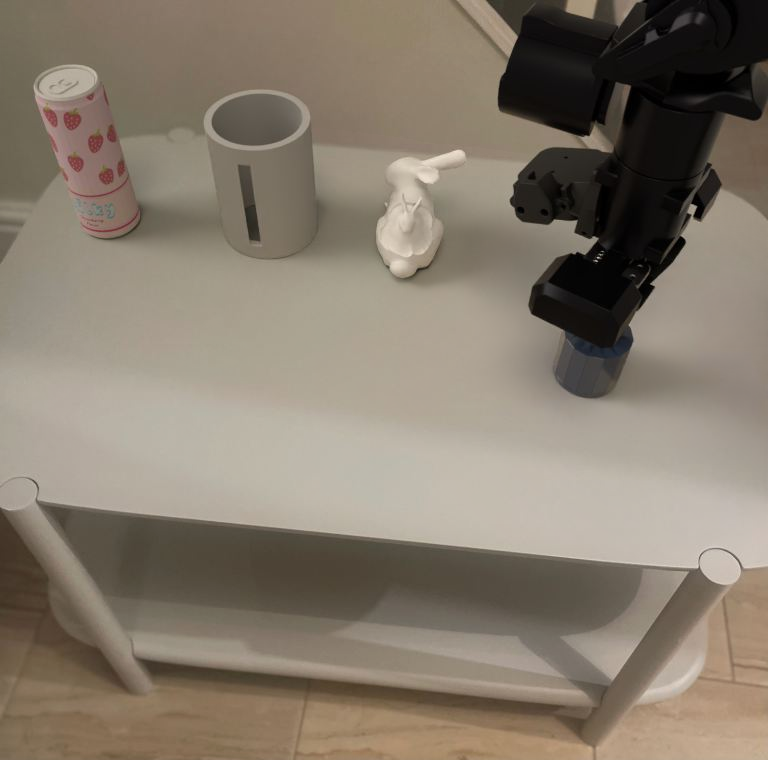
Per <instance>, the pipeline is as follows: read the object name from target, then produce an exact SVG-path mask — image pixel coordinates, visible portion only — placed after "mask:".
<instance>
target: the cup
mask: <svg viewBox="0 0 768 760" xmlns="http://www.w3.org/2000/svg"><path fill="white" fill-rule="evenodd" d="M311 120H312V119H311V112H310V110H309V108H308V106H307V105H306V104H305V103H304V102H303V101H302V100H301V99H299V98H298V97H296V96H294V95H292V94H290V93H287V92H283V91H280V90H274V89H261V88H259V89H248V90H243V91H239V92H234V93H232V94H231V93H230V94H228V95H227V96H224V97H222V98H220V99H219V100H217V101H216V102H214V103H213V104H212V105H211V106H210V107H209V108H208V110H207V111H206V112H205V115H204V117H203V129H204V133H205V140H206V144H207V145H206V146H207V150H208V155H209V160H210V165H211V171H212V176H213V183H214V187H215V191H216V198H217V204H218V208H219V214H220V219H221V224H222V229H223V230H222V231H223V234H224V238H225V240H226V242H227V244H228V245H229V246H230V247H231V248H232V249H233V250H235V251H236V252H238V253H240V254H242V255H243V256H248V257H250V258H255V259H261V260H265V259H266V260H268V259H270V260H271V259H280V258H285V257H288V256H291V255H294V254H297V253H299V252H300V251H302V250H303V249H305V248H306V247H308V245H310V244H311V243H312V241H313V240H314V239H315V238H316V235H317V232H318V226H319V224H318V222H319V221H318V211H317V210H318V209H317V194H316V193H317V191H316V180H315V179H316V178H315V163H314V149H313V132H312V121H311ZM251 206H255V213H256V218H257V226H258V227H257V228H258V232H259V233H258V234H259V239H260V241H258V240H253V239H250V237H249V236H250V235H249V230H248V223H247V217H246V211H245V210H246V209H247V208H250V207H251Z"/></svg>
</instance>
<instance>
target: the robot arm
mask: <svg viewBox="0 0 768 760" xmlns="http://www.w3.org/2000/svg"><path fill="white" fill-rule="evenodd" d="M520 24H521V25H520V31H519V34H518V36H517V37H516V40H515V42H514V45H513V46H512V49H511V52H510V55H509V57H508V61H507V64H506V67H505V71H504V73H503V74H502V75H500V79H499V83H498V88H497V89H498V90H497V107H498V111H499V112H500V113H502V114H505V115H509V116H511V117H515V118H518V119H521V120H525V121H528V122H531V123H535V124H538V125H541V126H545V127H548V128H551V129H553V130H558V131H561V132H564V133H568V134H570V135H573V136H577V137H580V138H585V137H590V136H591V135H592V133H593V130H594V127H595V124H596V123H597V124H598V125H600V126H604V127H607V126H608V125H609V124H610V122H611V120H612V119H613V116H614V115H615V112H616V111H617V108H618V106H619V103H620V101H621V97H622V95H623V93H624V92H623V91H624V89H625V86H629V87H630V88H629V91H628V94H627V98H626V102H625V106H624V108H623V113H622V116H621V119H620V123H619V126H618V130H617V134H616V137H615V141H614V144H613V148H612V150H611V151H612V152H610V151H609V152H608V151H602V150H600V149H597V148H587V147H586V148H585V147H584V148H582V147H565V146H552V147H548V148H545V149H543V150H541V151H539V152H538V153H537V154H536V155H535V156H534V157H532V159H531V160H530V161H529V162H528V163H527V164H526V165H525V167H523V168H522V170H520V171H519V172H518V173H517V180H516V181H515V182H514V183H513V184H512V189H513V194H512V196H511V197H510V198H509V204H510V206H511V207H512V208H513V209H514V215H515V217H516V218H517V219H518V220H519V221H520V222H522V223H526V224H535V225H543V226H549V225H551V224H552V223H553V222H554V221H555V220H556V221H563V222H575V221H576V224H575V228H574V231H573V233H574V234H575V235H578V236H581V237H583V238H585V239H587V240H591V239H593V237H595V238H597V239H596V241H595V243H594V244H592V246H591V247H590V249H589V250H588V251H587V252H586V254H584V253H582V252H579V251H576V252H575V253H573V252H569V253H567V254H563V255H560V256H556V258H554V260H553V261H552V262H551V264H550V265H548V267H547V268H546V270H544V271H543V273H542V274H541V275H540V276H539V277H538V279H537V280H536V281H535V282H534V283H533V285H532V286H531V290H530V295H529V298H528V299H529V300H528V304H527V307H528V309H529V312H530V314H531V315H532V316H534V317H535V318H538V319H540V320H542V321H544V322H545V323H548V324H550V325H552V326H554V327H556V328H558V329H560V330H561V331H563V330H564V331H566V332H568V333H571V334H573V335H575V336H577V337H579V338H581V339H583V340H585V341H587V342H589V343H591V344H593V345H595V346H597V347H599V348H601V349H602V348H610V347H613V346H614V345H615V344H616V342H617V341H618V339H619V338H620V337H621V335H622V334H623V332H624V331H625V329H626V328H627V327H628V325H629V326H630V324H631V322H632V320H633V318H634V316H635V314H636V313H637V312H639V310H641V308H642V307H643V306H644V304H645V303H646V301H647V300H648V299H649V297H650V296H651V294H652V293H653V292H654V290H655V289H656V286H655V285H653V284H652V283H653V282H654V281H656V280H657V279H658V278H659V276H660V275H662V274H663V273H664V272H665V271H666V270H667V269H668V268H669V267H670V266H671V265H672V264H673V263H675V260H676V259H677V257H678V256H679V255H680V253H681V252H682V250H683V249H684V247H685V246H686V244H687V240H686V238H684V237H683V236H682V234H683V233H684V232H685V231H686V229H687V227H688V226H689V224H690V220H691V218H692V219H693V220H695V221H697V222H700V223H702V222H703V220H704V219H705V217H706V216H707V215H708V213H709V212H710V210H711V209H712V207H713V206H714V205H715V202H716V200H717V198H718V195H719V193H720V190H721V189H722V186H723V184H722V181H721V180H720V179H721V178H720V177H719V176H718V173H717V172H716V169H714V168H712V167H713V163H711V162H709V159H710V157H711V154H712V153H713V152H712V151H713V149H714V147H715V144H716V143H717V139H718V136H719V134H720V132H721V130H722V127H723V124H724V123H725V119H726V116H727V115H730V116H732V117H733V116H734V117H737V118H741V119H744V120H748V121H751V122H756V121H758V120H760V119H761V118H762V117H763V115H764V112H765V110H766V107H767V105H768V74H767V72H765V71H764V70H763V68H762V66H761V64H760V63H763V62H767V61H768V0H640V1H637V2H635V3H634V5H633V6H632V7H631V9H630V11H629V12H628V13H627V15H626V17H625V18H624V19H623V20H622V22H621V24H620V25H617V24H614V23H610V22H606V21H602V20H599V19H595V18H591V17H587V16H583V15H579V14H575V13H571V12H568V11H565V10H564V9H562V8H560V7H558V6H556V5H553V4H550V3H546V2H542V1H535V2H534V3H533V4H532V5H531V6H530V7H529V9H528V10H527V11H526V12H525V13H524V14H523V15H522V17H521V23H520ZM691 205H692V206H695V207H696V208H695V210H694V213H693V215H692V214H691V213H689V209H690V207H691Z"/></svg>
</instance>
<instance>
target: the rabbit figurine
mask: <svg viewBox="0 0 768 760" xmlns="http://www.w3.org/2000/svg"><path fill="white" fill-rule="evenodd" d="M466 161H467V155H466V153H465V151H464V150H462V149H454V150H453V151H450V152H445V153H443V154H440V155H437V156H434V157H431V158H428V159H425V160H422V159H419V158H416V157H411V156H405V157H402V158H399V159H397V160H395V161H393V162H392V163H391V164H389V166H387V168H386V170H385V175H384V180H385V183H386V184H387V185H388V186H391V187H392V189H393V191H392V193H391V194H390V197H389V199H388V202H386V201H384V206H385V208H386V211H385V214H384V215H382V216H380V218H379V219H378V221H377V224H376V228H375V240H376V241H375V243H376V247H377V250H378V253H379V254H380V256H381V257H382V261H383V263H384V265H385V266H387V267H389V271H390V273H391V274H392V275H393V276H395V277H397V278H400V279H401V278H402V279H403V278H404V279H405V278H409V277H412V276H413V275H415V273H416V272H417V270H418V269H424V268H427V267H428V266H429V265H430V263H431V262H432V261H433V260H434V258H435V256H436V253H437V251H438V248H439V247H440V244H441V241H442V239H443V235H444V225H443V222H442V221H441V220H440V219H438V218H437V217H436V216H435V203H434V199H433V195H432V193H431V191H430V190H429V189H430V188H429V187H428V185H435V184H436V183H437V182H439V181H440V178H441V173H440V172H441V171H447V170H452V169H458V168H460V167H462V166H464V165H465V163H466Z"/></svg>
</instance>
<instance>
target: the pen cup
mask: <svg viewBox="0 0 768 760" xmlns="http://www.w3.org/2000/svg"><path fill="white" fill-rule="evenodd" d="M561 331H562V332H561V334H560V337H559V341H558V345H557V349H556V352H555V356H554V359H553V365H552V371H553V376H554V378H555V380H556V382H557V383H558V384H559V386H560V387H562V388H563V389H564V390H565V391H567V392H568V393H570V394H572V395H575V396H577V397H581V398H588V399H595V398H601V397H604V396H606V395H608V394H609V393H611V392H612V391H614V389H615V387H616V386H617V384H618V381H619V379H620V377H621V374H622V373H623V372H622V371H623V369H624V366H625V365H626V361H627V359H628V356H629V354H630V351H631V349H632V346H633V344H634V342H635V340H634V334H633V330H632V327H631V326H630V324H629V325H628V327H627V328H626V329H625V331H624V332H623V334H622V335H621V337H620V338H619V339H618V341H617V342H616V344H615V345H614V346H613V347H610V348H602V349H601V348H599V347H597V346H595V345H593V344H591V343H589V342H587V341H585V340H583V339H581V338H579V337H577V336H575V335H573V334H571V333H568V332H566V331H564V330H561Z"/></svg>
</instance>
